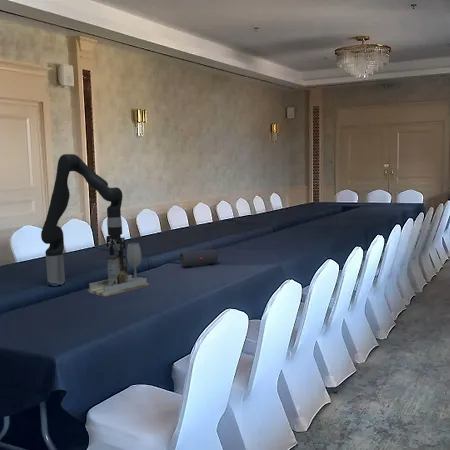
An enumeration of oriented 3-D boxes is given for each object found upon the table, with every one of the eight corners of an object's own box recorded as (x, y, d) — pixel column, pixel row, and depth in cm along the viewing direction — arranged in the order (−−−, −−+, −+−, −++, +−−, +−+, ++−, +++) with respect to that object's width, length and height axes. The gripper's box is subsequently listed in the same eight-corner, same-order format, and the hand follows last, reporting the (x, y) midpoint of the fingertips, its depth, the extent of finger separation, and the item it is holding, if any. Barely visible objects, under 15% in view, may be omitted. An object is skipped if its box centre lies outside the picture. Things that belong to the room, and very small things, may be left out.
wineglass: (143, 281, 312) (141, 244, 310) (127, 282, 311) (125, 245, 308) (143, 278, 321) (141, 242, 318) (128, 279, 319) (125, 243, 317)
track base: (87, 292, 292) (87, 283, 292) (131, 282, 312) (131, 274, 311) (104, 296, 281) (103, 288, 280) (148, 286, 300) (148, 277, 300)
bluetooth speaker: (184, 269, 341) (183, 253, 340) (179, 266, 350) (178, 251, 349) (218, 265, 350) (217, 249, 349) (212, 262, 359) (212, 247, 358)
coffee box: (119, 284, 301) (117, 254, 299) (128, 284, 299) (126, 255, 297) (108, 287, 293) (106, 257, 291) (117, 288, 290) (115, 258, 288)
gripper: (101, 225, 294) (102, 255, 296) (116, 227, 284) (117, 258, 286) (113, 224, 300) (115, 253, 302) (128, 225, 289) (130, 256, 291)
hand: (116, 256), depth 294 cm, fingers open, 8 cm apart
